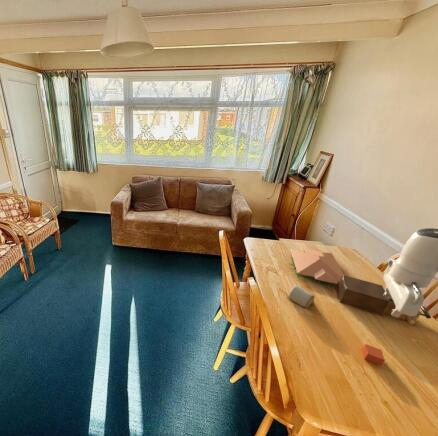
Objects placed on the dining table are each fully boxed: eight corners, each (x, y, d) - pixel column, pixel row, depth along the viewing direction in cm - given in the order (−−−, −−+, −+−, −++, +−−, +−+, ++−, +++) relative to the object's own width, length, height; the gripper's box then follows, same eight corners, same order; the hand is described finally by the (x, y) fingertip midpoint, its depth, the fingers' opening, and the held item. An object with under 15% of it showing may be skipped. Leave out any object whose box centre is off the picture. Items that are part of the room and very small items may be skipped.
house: (296, 281, 123) (300, 268, 119) (288, 250, 150) (291, 239, 147) (348, 292, 115) (354, 279, 111) (329, 257, 142) (334, 246, 139)
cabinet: (373, 300, 110) (382, 285, 106) (380, 317, 101) (389, 301, 97) (336, 289, 117) (342, 274, 112) (338, 304, 108) (346, 288, 104)
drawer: (417, 312, 102) (426, 299, 99) (427, 329, 94) (437, 316, 91) (365, 297, 110) (372, 285, 107) (370, 312, 102) (378, 299, 99)
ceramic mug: (305, 312, 104) (310, 299, 100) (286, 301, 110) (291, 288, 106) (315, 302, 109) (320, 289, 106) (296, 292, 115) (301, 280, 112)
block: (376, 357, 84) (381, 349, 82) (379, 368, 81) (384, 360, 79) (360, 351, 86) (365, 343, 85) (362, 361, 83) (367, 353, 81)
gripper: (438, 298, 64) (413, 332, 70) (412, 262, 80) (394, 292, 86) (407, 290, 68) (386, 323, 73) (388, 256, 83) (372, 285, 89)
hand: (390, 306), depth 80 cm, fingers open, 8 cm apart
